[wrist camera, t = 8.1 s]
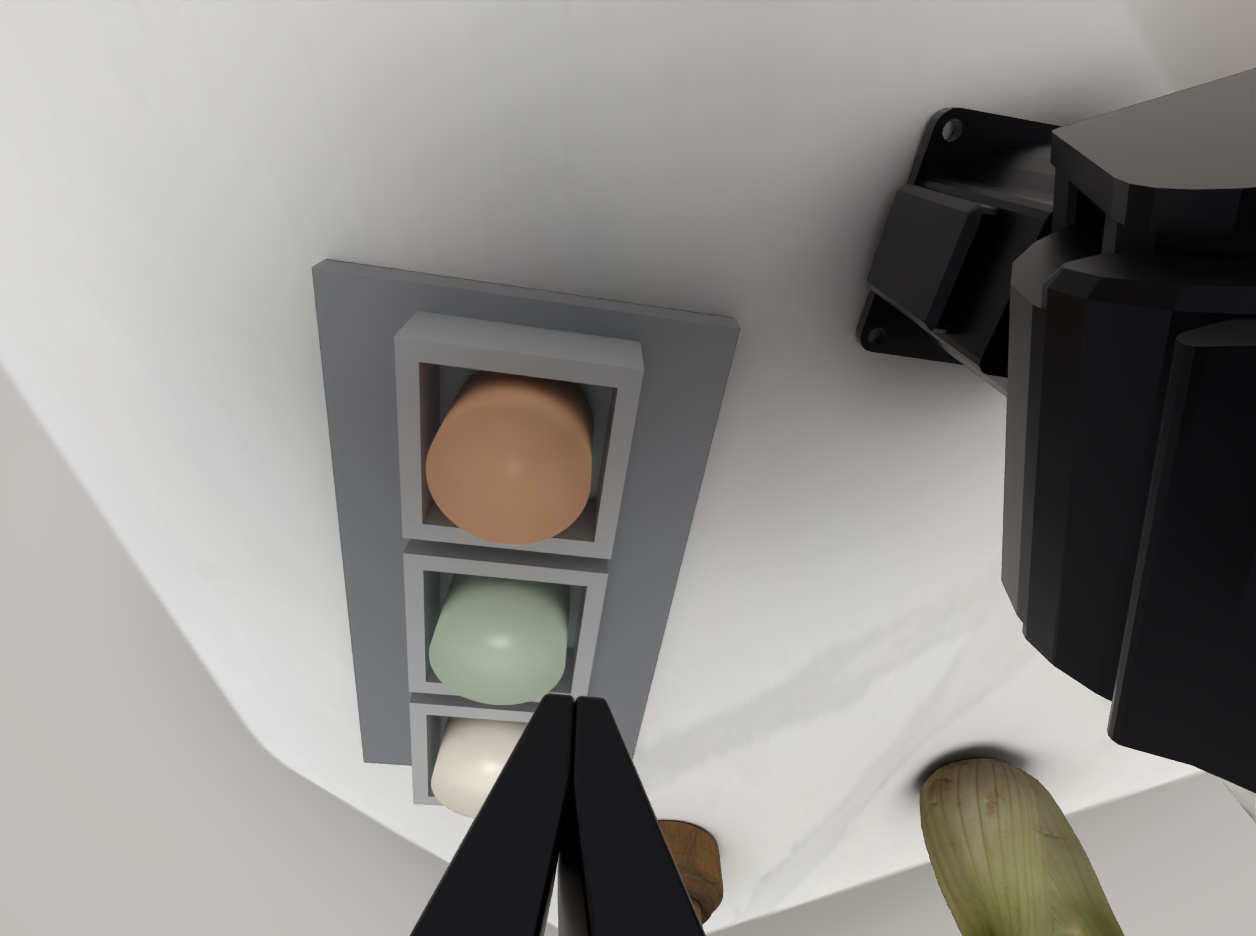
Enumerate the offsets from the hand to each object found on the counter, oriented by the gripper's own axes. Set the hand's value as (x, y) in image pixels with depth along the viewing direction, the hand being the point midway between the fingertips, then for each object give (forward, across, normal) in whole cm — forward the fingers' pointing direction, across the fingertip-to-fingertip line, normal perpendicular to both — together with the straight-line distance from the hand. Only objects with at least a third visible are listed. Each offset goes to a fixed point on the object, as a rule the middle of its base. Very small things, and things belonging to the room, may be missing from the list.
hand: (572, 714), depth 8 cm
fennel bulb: (+13, -21, +19) cm, 31 cm away
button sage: (+12, +2, +9) cm, 15 cm away
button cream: (+12, +2, +16) cm, 20 cm away
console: (+13, +2, +9) cm, 16 cm away
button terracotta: (+12, +2, +2) cm, 12 cm away
